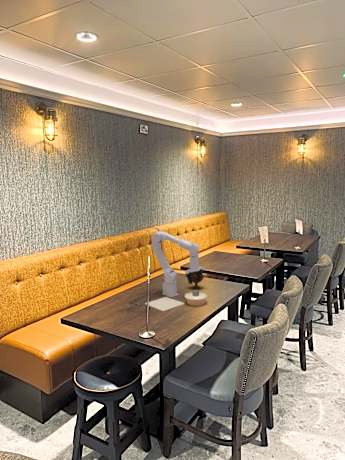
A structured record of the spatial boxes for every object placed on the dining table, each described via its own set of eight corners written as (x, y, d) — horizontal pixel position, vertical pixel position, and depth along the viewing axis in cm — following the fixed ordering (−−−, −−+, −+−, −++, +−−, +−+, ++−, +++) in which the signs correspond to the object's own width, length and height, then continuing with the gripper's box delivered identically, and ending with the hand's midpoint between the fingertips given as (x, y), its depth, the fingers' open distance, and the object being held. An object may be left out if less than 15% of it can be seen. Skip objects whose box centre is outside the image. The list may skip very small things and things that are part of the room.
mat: (144, 304, 229) (144, 303, 229) (165, 297, 241) (165, 296, 241) (163, 311, 216) (163, 311, 216) (184, 304, 228) (184, 303, 228)
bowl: (183, 303, 229) (183, 296, 228) (195, 299, 236) (195, 292, 236) (196, 307, 221) (196, 300, 220) (208, 303, 228) (208, 296, 228)
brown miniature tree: (203, 291, 252) (203, 269, 250) (187, 290, 255) (187, 269, 252) (205, 286, 263) (204, 266, 260) (189, 285, 265) (189, 265, 263)
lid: (180, 296, 229) (179, 290, 228) (195, 291, 238) (195, 286, 237) (196, 301, 218) (196, 296, 218) (211, 296, 228) (211, 290, 227)
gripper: (190, 265, 229) (191, 286, 231) (206, 261, 239) (206, 281, 241) (183, 263, 234) (183, 283, 236) (198, 259, 244) (198, 279, 246)
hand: (194, 282), depth 239 cm, fingers open, 7 cm apart
